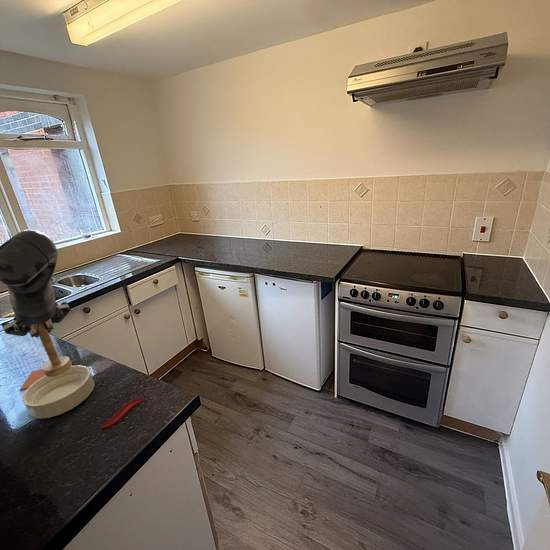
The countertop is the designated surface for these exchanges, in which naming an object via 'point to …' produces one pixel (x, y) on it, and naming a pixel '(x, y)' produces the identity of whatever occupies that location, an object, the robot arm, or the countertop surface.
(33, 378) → the spoon rest
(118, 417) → the cayenne pepper
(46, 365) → the wooden pestle
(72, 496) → the countertop surface
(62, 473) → the countertop surface
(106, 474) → the countertop surface
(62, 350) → the countertop surface
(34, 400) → the bowl
